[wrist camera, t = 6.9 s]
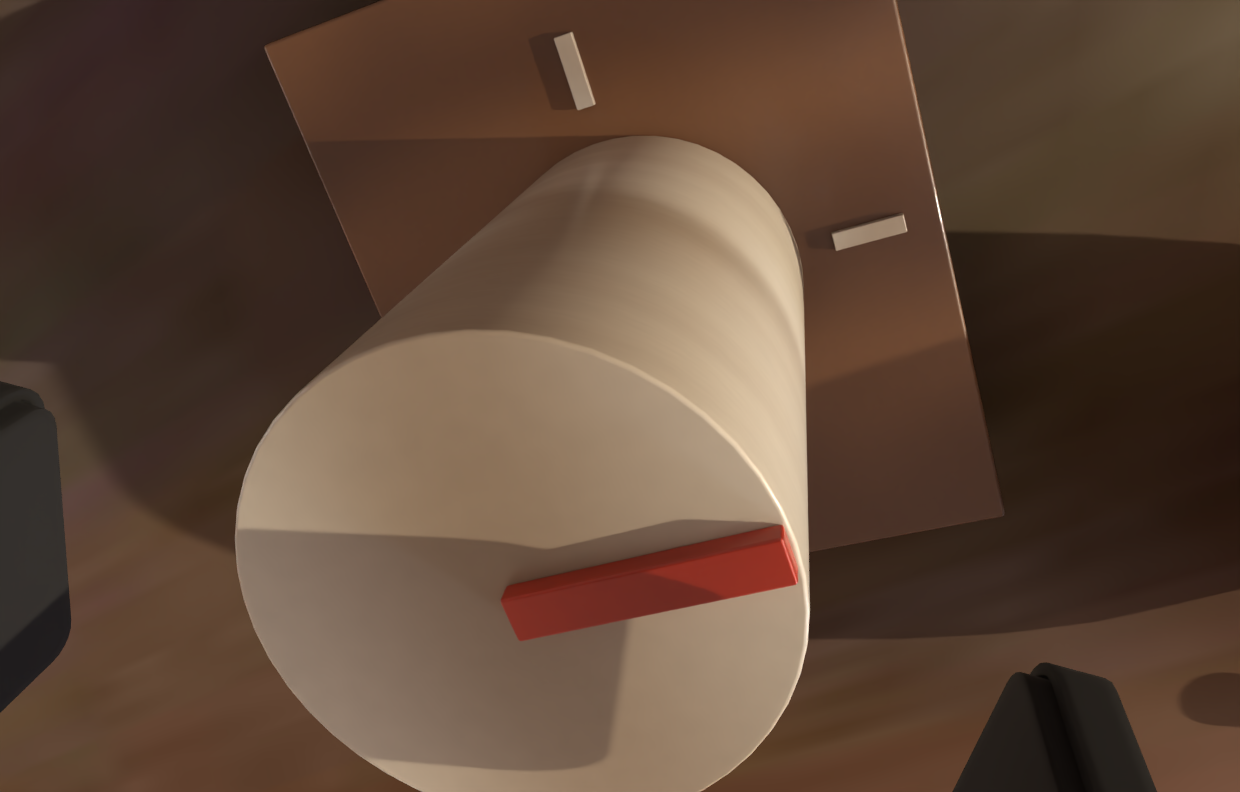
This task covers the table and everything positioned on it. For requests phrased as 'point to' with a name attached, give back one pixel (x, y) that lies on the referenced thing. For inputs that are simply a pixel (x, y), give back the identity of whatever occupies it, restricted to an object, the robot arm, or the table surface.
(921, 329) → the brown square plate
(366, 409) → the rotary dial knob
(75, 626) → the table surface
